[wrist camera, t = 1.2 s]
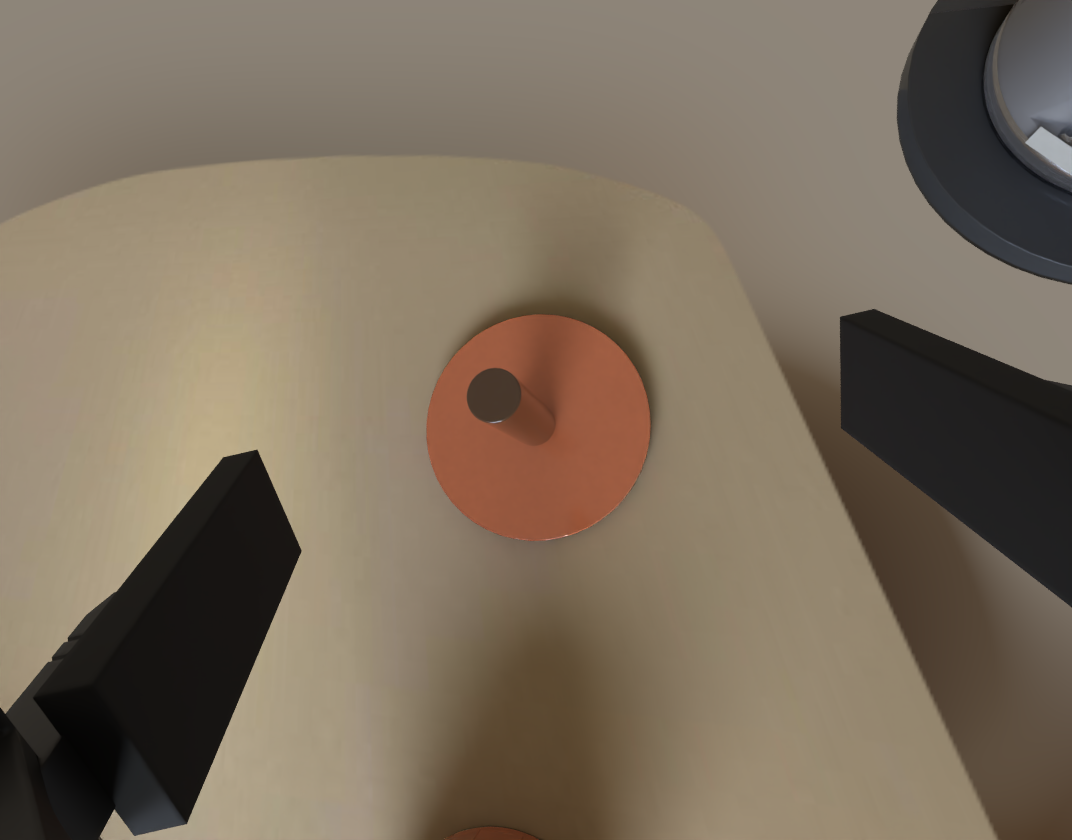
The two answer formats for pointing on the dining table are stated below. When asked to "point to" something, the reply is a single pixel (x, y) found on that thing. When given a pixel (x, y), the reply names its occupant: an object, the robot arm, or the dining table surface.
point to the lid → (538, 427)
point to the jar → (490, 834)
